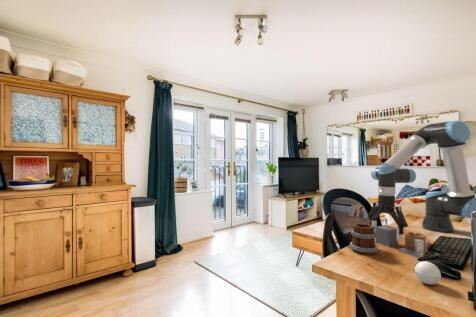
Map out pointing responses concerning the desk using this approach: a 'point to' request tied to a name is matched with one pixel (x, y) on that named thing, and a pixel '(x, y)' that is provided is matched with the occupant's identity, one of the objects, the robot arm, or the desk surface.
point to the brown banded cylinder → (363, 238)
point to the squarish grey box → (386, 235)
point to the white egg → (427, 273)
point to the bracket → (411, 238)
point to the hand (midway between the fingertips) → (386, 236)
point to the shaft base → (412, 252)
